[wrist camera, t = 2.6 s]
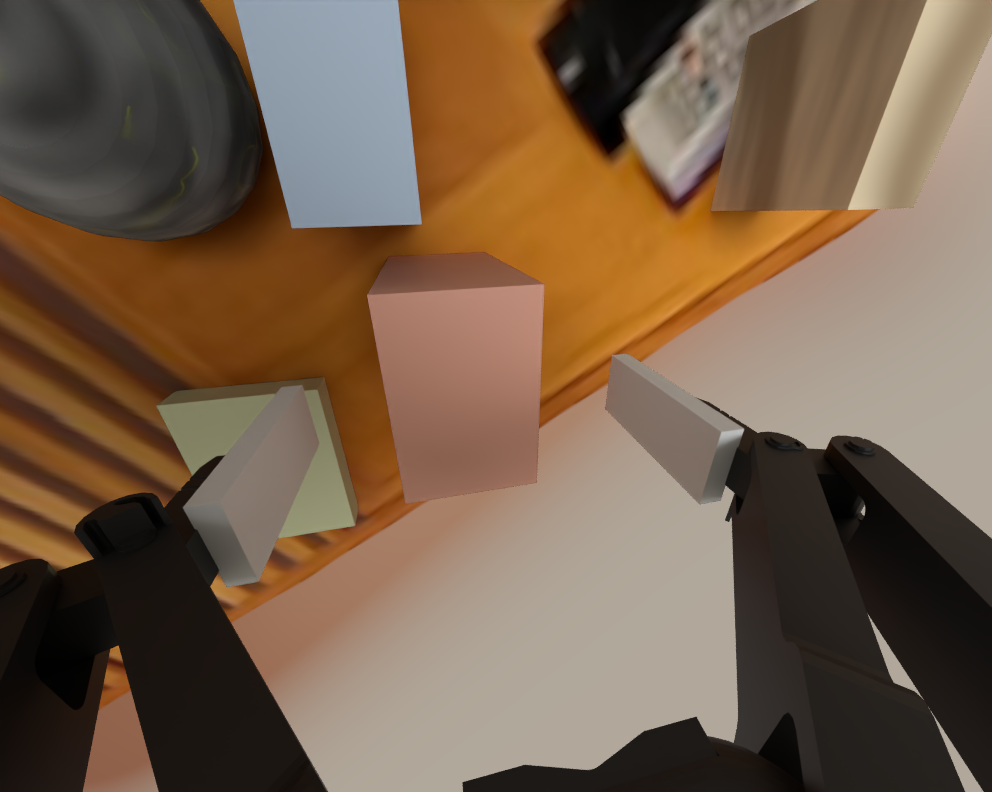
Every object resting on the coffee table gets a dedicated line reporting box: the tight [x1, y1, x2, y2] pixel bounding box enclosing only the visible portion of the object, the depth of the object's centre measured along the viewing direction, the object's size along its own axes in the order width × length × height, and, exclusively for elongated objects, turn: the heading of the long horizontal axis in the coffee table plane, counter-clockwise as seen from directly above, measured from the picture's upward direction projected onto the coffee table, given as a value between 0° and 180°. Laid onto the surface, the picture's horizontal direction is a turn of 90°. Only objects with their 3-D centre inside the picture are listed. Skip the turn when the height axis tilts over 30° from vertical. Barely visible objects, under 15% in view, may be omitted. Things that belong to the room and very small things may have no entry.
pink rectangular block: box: [367, 252, 544, 504], centre depth 19 cm, size 6×9×12 cm, turn 1°
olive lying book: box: [156, 377, 358, 538], centre depth 26 cm, size 12×9×2 cm
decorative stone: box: [0, 0, 263, 241], centre depth 13 cm, size 10×10×10 cm
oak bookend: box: [711, 0, 992, 211], centre depth 19 cm, size 4×9×9 cm, turn 2°
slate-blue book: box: [233, 0, 422, 228], centre depth 14 cm, size 4×9×11 cm, turn 1°
